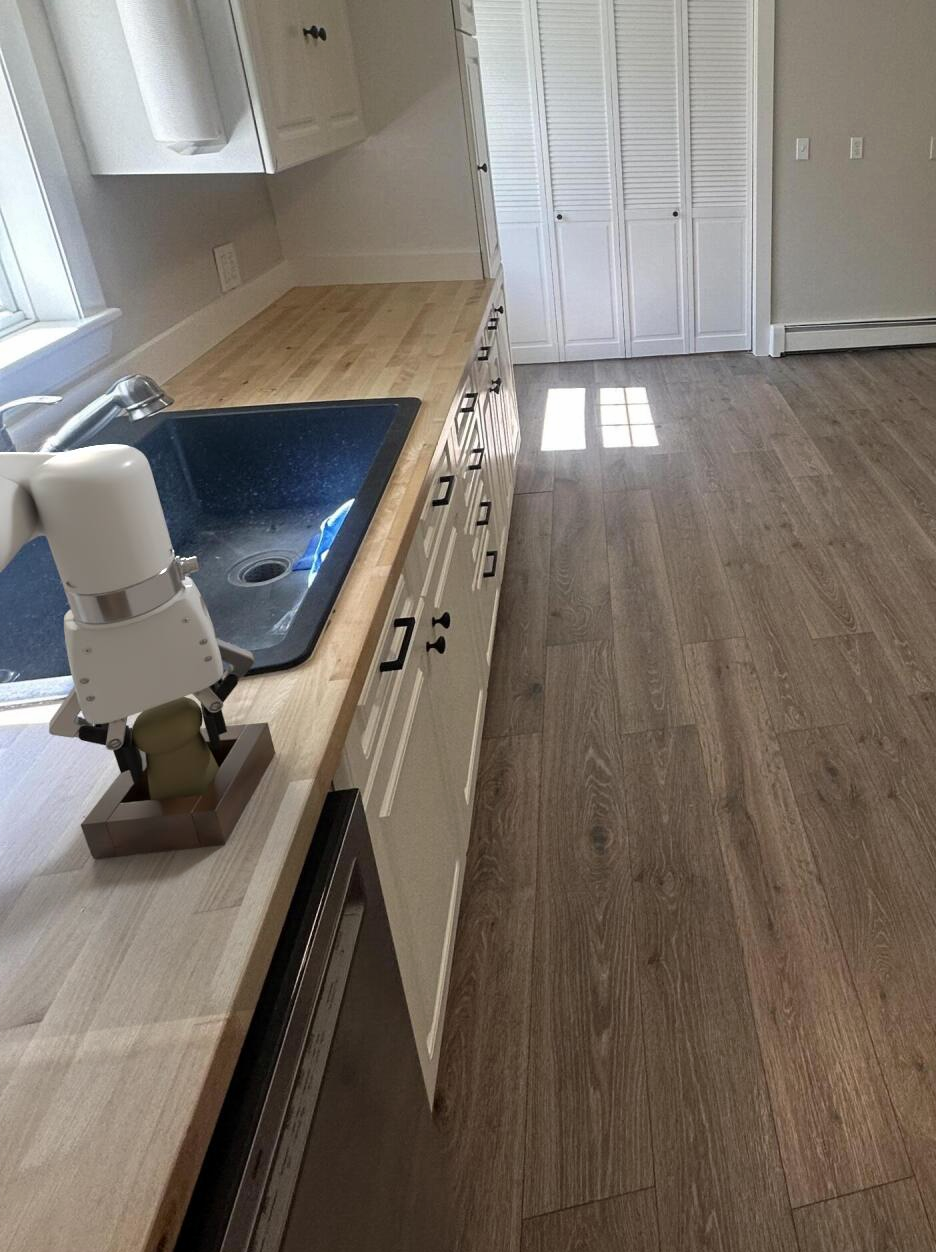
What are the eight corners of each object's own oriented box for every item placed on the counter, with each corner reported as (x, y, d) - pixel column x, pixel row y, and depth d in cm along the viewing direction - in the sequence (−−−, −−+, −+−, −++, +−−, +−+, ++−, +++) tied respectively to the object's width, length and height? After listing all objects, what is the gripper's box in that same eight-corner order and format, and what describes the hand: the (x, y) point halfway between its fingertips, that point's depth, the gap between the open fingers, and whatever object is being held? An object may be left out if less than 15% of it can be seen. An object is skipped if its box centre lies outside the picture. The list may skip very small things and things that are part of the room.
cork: (193, 834, 72) (164, 738, 68) (135, 824, 73) (103, 729, 69) (243, 781, 77) (219, 690, 74) (189, 773, 78) (162, 682, 74)
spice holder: (92, 859, 69) (80, 825, 68) (161, 764, 79) (151, 732, 78) (225, 844, 71) (215, 810, 69) (275, 753, 81) (268, 721, 79)
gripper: (237, 539, 75) (275, 694, 81) (-5, 604, 65) (59, 775, 71) (249, 573, 69) (289, 737, 75) (-14, 650, 59) (56, 832, 65)
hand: (177, 754), depth 73 cm, fingers closed on cork, 5 cm apart
